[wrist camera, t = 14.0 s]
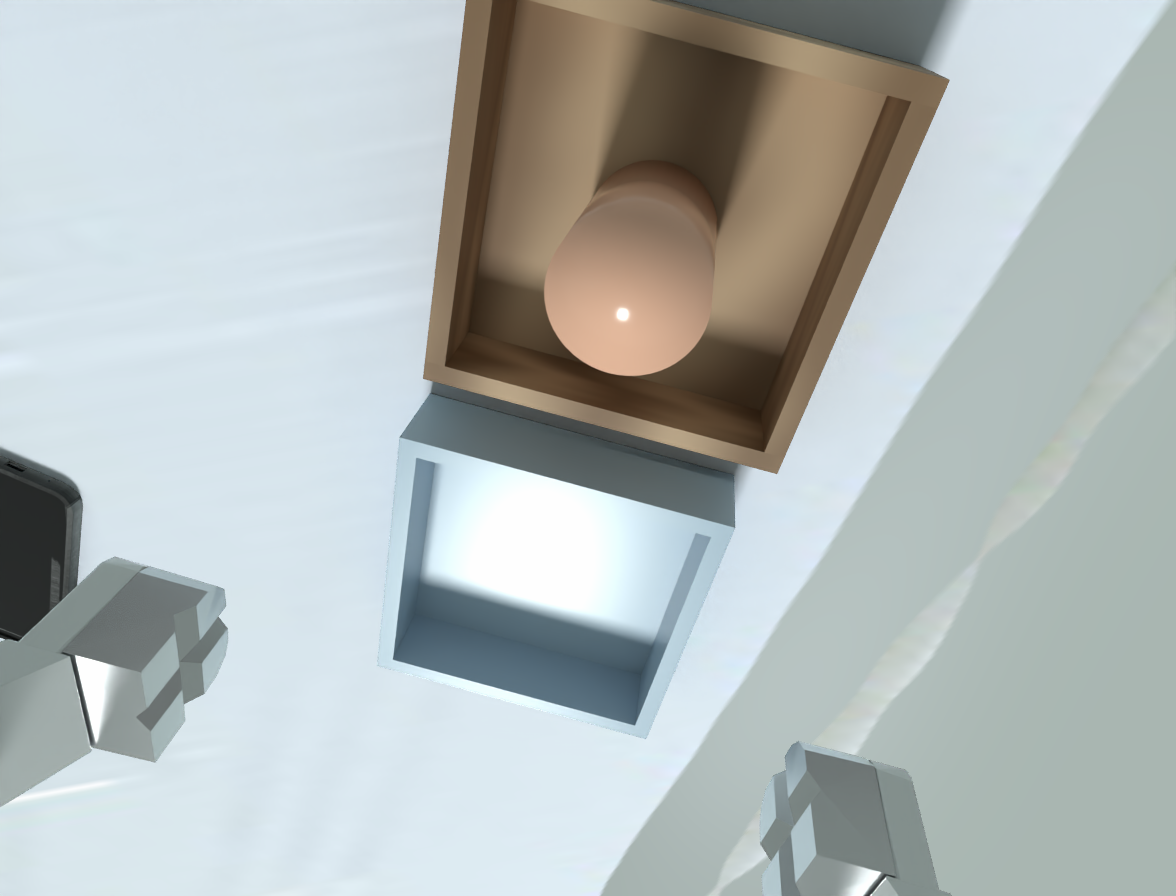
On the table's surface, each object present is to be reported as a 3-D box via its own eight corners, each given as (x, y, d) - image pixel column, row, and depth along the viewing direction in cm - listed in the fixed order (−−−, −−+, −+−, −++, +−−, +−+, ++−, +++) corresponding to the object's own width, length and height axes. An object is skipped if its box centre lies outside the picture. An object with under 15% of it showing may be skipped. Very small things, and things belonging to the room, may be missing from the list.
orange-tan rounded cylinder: (562, 205, 30) (511, 269, 23) (675, 132, 28) (656, 178, 21) (630, 312, 31) (602, 401, 25) (741, 251, 29) (742, 328, 23)
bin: (403, 612, 44) (376, 665, 40) (430, 393, 36) (399, 437, 32) (652, 679, 43) (645, 739, 40) (733, 475, 35) (735, 527, 32)
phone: (-55, 615, 49) (-68, 439, 41) (-40, 603, 50) (-50, 429, 42) (65, 663, 50) (75, 500, 42) (77, 650, 51) (90, 488, 43)
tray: (452, 338, 34) (423, 378, 31) (503, -45, 26) (471, -47, 23) (771, 424, 34) (777, 474, 30) (920, 66, 26) (949, 79, 23)
